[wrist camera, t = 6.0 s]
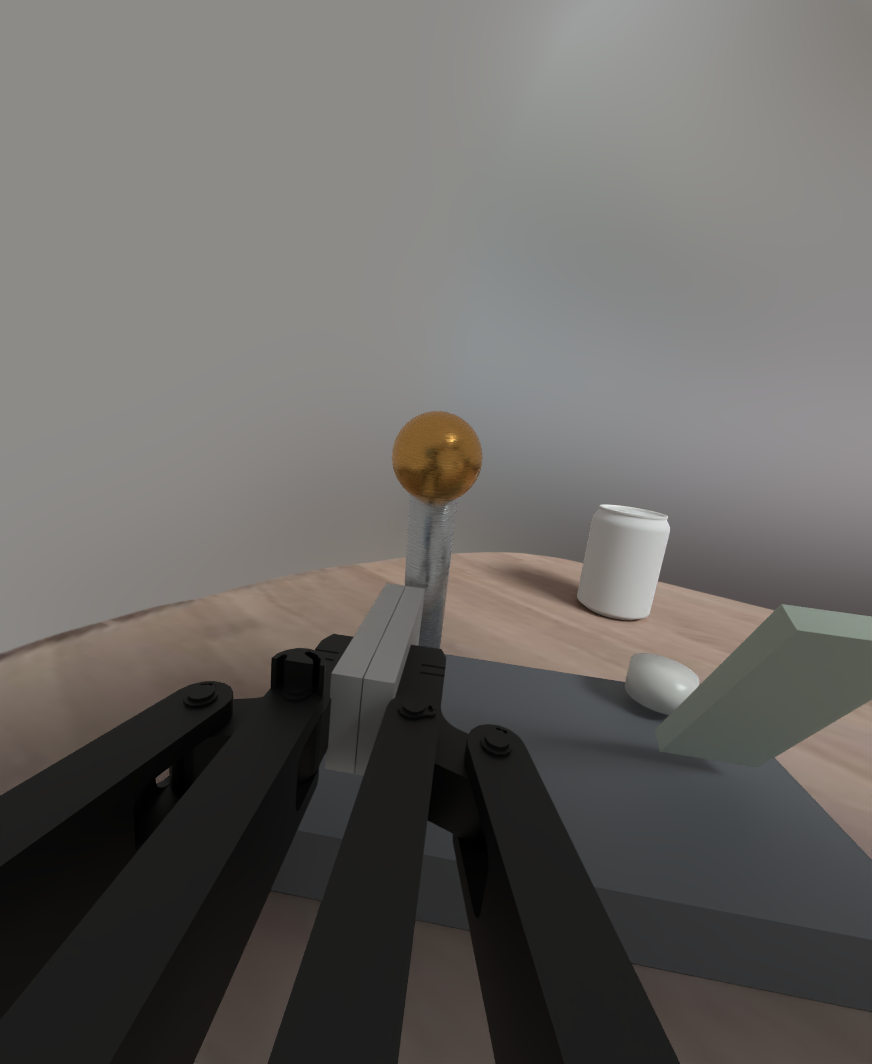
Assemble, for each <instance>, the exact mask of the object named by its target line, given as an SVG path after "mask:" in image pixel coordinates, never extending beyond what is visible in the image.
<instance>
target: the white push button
mask: <svg viewBox="0 0 872 1064" xmlns="http://www.w3.org/2000/svg"><path fill="white" fill-rule="evenodd" d="M698 685H699V678H698V677H697V675H696V674H695V673H694V672H693V671H692V670H690V669H689V668H687V667H686V666H684V665H682V664H680V663H678V662H676V661H674V660H671V659H669V658H666V657H663V656H659V655H654V654H648V653H640V654H635V655H633V656H632V657H631V660H630V664H629V668H628V672H627V677H626V681H625V685H624V687H625V690H626V692H627V693H628V694H629V695H630V696H631V697H632V698H633V699H634V700H635V701H637V702H638V703H640V704H641V705H643V706H645V707H647V708H649V709H651V710H654V711H656V712H659V713H662V714H666V715H670V714H671V713H672V712H673V711H674V710H675V709H676V708H677V707H678V706H679V705H680V704H681V703H682V702H683V701H684V700H685V699H686V698H687V697H688V696H689V695H690V694H691V693H692V692H693V691H694V690H695V689H696V688H697V687H698Z"/></svg>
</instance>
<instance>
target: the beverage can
mask: <svg viewBox="0 0 872 1064" xmlns="http://www.w3.org/2000/svg"><path fill="white" fill-rule="evenodd" d="M599 508H600V509H599V510H598V511H597V512H596V513H595V514H594V515H593V519H592V524H591V528H590V533H589V538H588V543H587V548H586V553H585V558H584V563H583V567H582V572H581V577H580V582H579V587H578V592H577V598H578V600H579V601H580V602H581V603H582V604H583V605H585V606H586V607H587V608H588V609H590V610H592V611H593V612H595V613H598V614H600V615H603V616H606V617H610V618H614V619H619V620H635V619H642V618H645V617H647V616H648V615H649V614H650V610H651V606H652V602H653V598H654V594H655V590H656V585H657V581H658V577H659V573H660V569H661V565H662V561H663V557H664V553H665V549H666V545H667V541H668V537H669V532H670V526H669V524H668V522H667V519H668V516H667V515H665V514H662V513H658V512H654V511H649V510H644V509H639V508H633V507H625V506H618V505H600V506H599Z"/></svg>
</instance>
